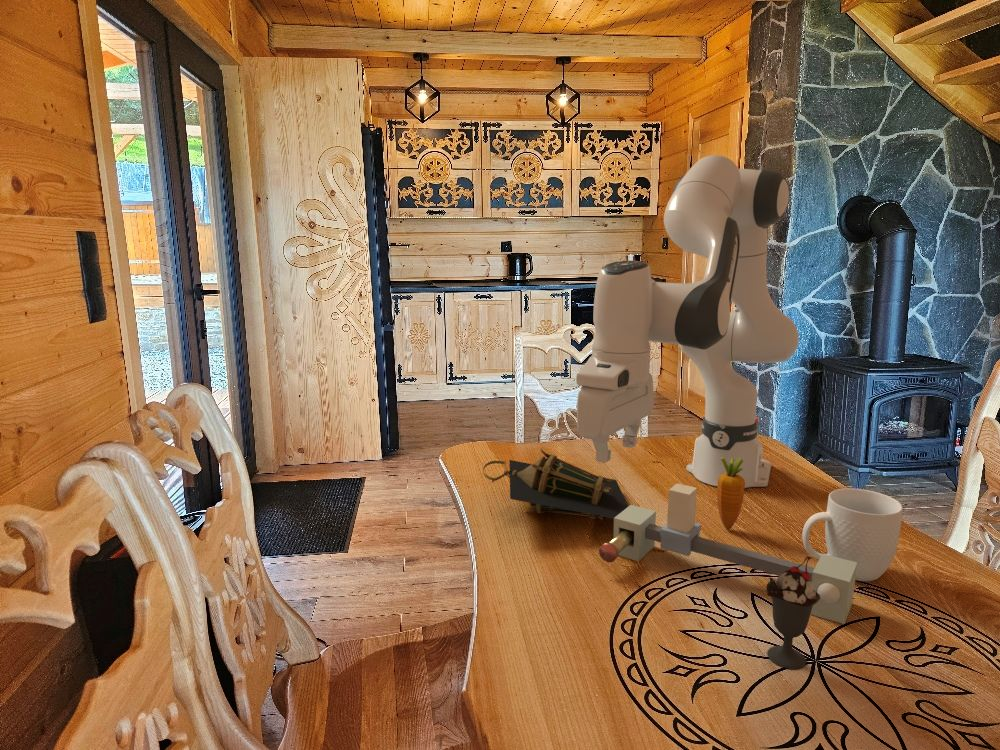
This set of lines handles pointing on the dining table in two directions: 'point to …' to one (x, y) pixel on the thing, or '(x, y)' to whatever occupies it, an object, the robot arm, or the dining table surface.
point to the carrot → (730, 493)
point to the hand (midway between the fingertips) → (616, 453)
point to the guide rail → (750, 562)
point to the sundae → (791, 613)
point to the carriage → (680, 520)
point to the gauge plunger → (616, 545)
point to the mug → (859, 530)
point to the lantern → (562, 488)
